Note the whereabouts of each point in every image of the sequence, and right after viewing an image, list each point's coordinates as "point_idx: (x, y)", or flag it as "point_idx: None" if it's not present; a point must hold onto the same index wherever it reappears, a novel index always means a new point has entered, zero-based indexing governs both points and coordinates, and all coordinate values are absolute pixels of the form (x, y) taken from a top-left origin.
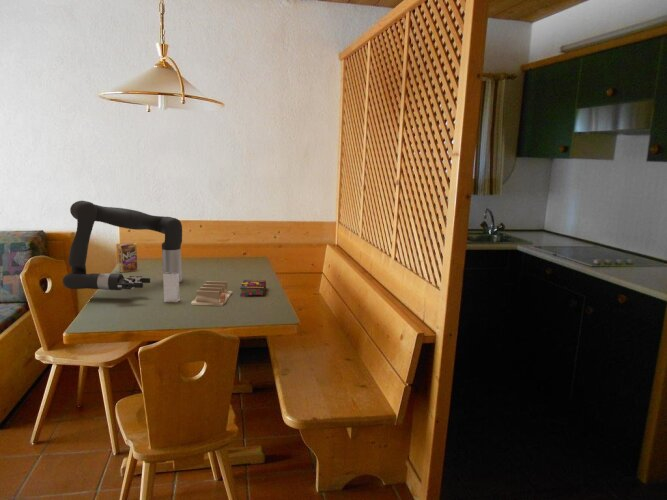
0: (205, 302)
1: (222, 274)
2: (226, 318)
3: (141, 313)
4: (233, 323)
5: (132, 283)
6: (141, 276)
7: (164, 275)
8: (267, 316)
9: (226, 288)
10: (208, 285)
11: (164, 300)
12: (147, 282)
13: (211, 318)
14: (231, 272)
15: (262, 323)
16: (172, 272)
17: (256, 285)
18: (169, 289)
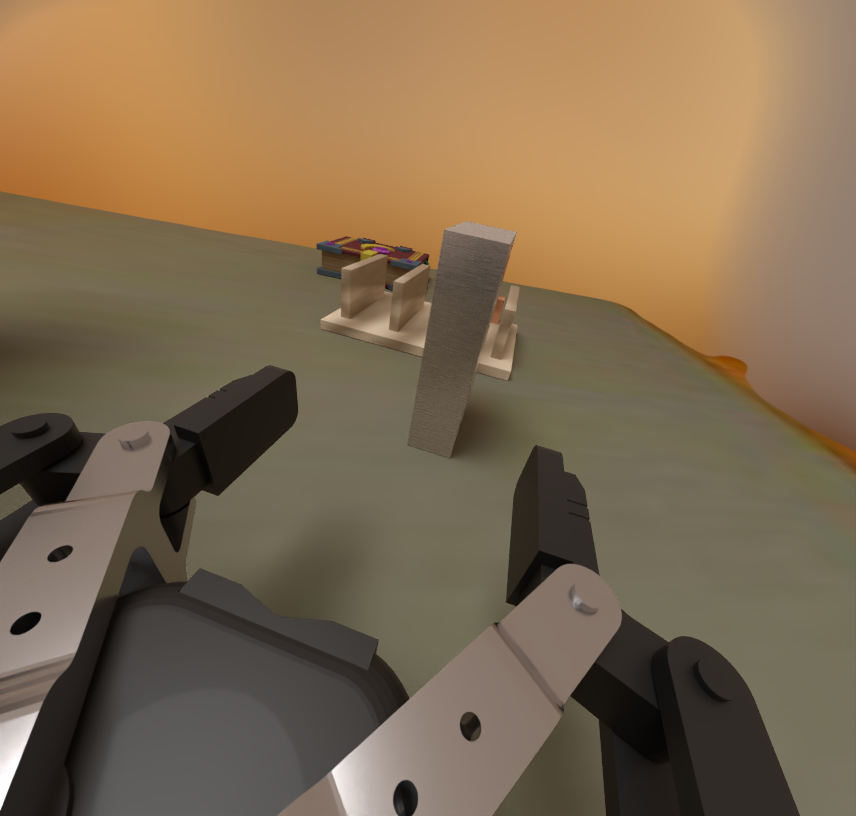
0: (506, 345)
1: (48, 250)
2: (635, 349)
3: (755, 607)
4: (669, 349)
5: (607, 601)
6: (44, 423)
7: (505, 261)
8: (589, 309)
9: (384, 281)
10: (411, 281)
11: (452, 449)
12: (276, 432)
13: (652, 369)
14: (52, 238)
15: (641, 323)
16: (460, 225)
17: (397, 252)
18: (477, 364)
